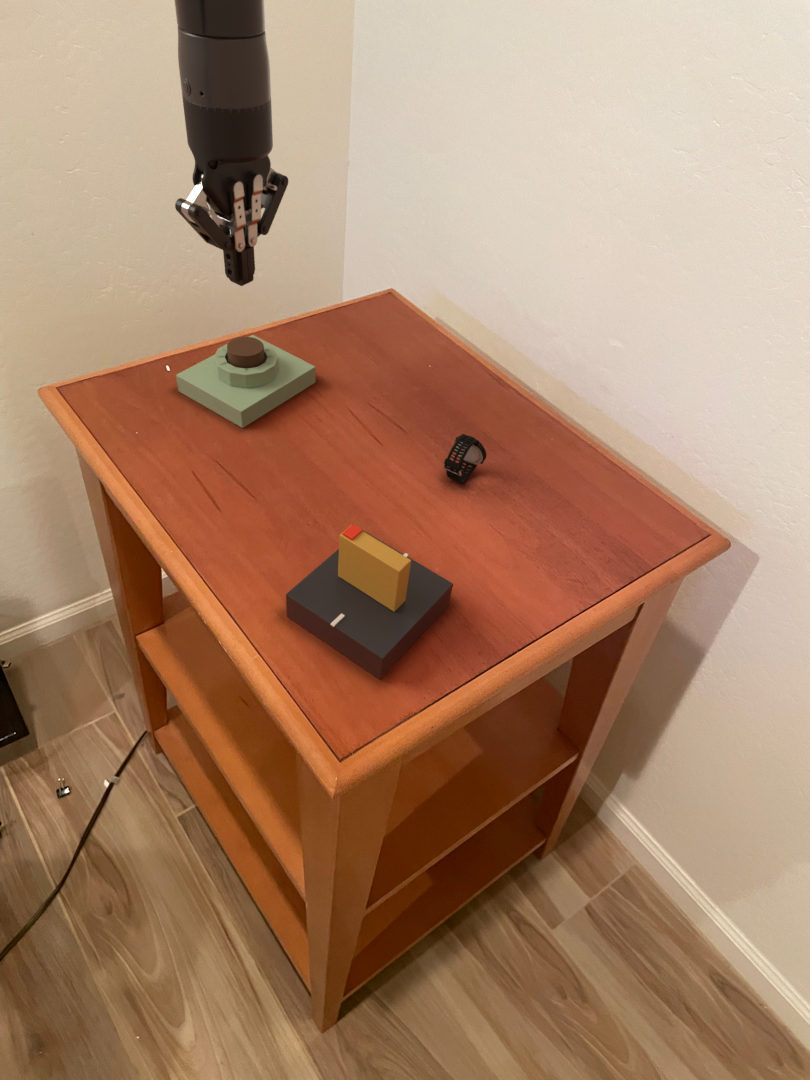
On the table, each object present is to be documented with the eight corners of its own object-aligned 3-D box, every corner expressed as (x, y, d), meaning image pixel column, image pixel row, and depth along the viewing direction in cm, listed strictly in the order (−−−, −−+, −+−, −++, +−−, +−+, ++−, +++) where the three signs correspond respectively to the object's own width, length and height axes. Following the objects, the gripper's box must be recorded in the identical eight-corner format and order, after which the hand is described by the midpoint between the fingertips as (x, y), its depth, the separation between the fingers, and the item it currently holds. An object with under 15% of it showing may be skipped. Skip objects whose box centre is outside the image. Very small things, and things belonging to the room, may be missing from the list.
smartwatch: (487, 480, 77) (496, 442, 73) (449, 497, 74) (456, 459, 71) (462, 458, 79) (469, 420, 75) (425, 474, 77) (430, 436, 73)
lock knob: (405, 600, 61) (411, 557, 57) (394, 612, 60) (399, 569, 56) (349, 565, 63) (351, 521, 59) (337, 576, 62) (339, 532, 58)
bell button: (246, 374, 80) (245, 360, 79) (220, 360, 82) (219, 346, 80) (272, 359, 83) (271, 346, 81) (246, 346, 84) (245, 332, 83)
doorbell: (242, 428, 79) (239, 397, 76) (178, 391, 83) (173, 360, 80) (315, 382, 86) (315, 352, 84) (253, 350, 90) (251, 320, 87)
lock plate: (379, 681, 58) (382, 658, 56) (285, 617, 62) (284, 593, 60) (449, 605, 65) (454, 581, 62) (360, 551, 68) (362, 527, 66)
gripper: (199, 117, 58) (219, 317, 70) (310, 88, 66) (311, 272, 78) (135, 93, 60) (166, 290, 73) (249, 68, 68) (259, 249, 81)
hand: (241, 281), depth 75 cm, fingers closed
